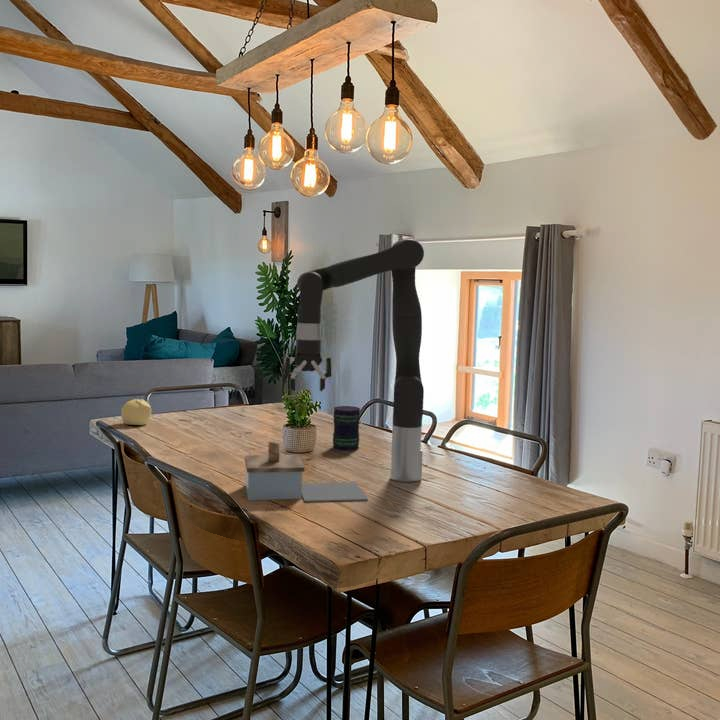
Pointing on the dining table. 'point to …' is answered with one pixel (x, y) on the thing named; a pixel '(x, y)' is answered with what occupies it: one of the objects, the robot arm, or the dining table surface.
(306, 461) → the dining table surface
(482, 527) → the dining table surface
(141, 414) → the pale yellow rounded lump
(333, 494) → the mat
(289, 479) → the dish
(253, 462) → the lid
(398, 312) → the robot arm
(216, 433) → the dining table surface
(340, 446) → the storage jar
